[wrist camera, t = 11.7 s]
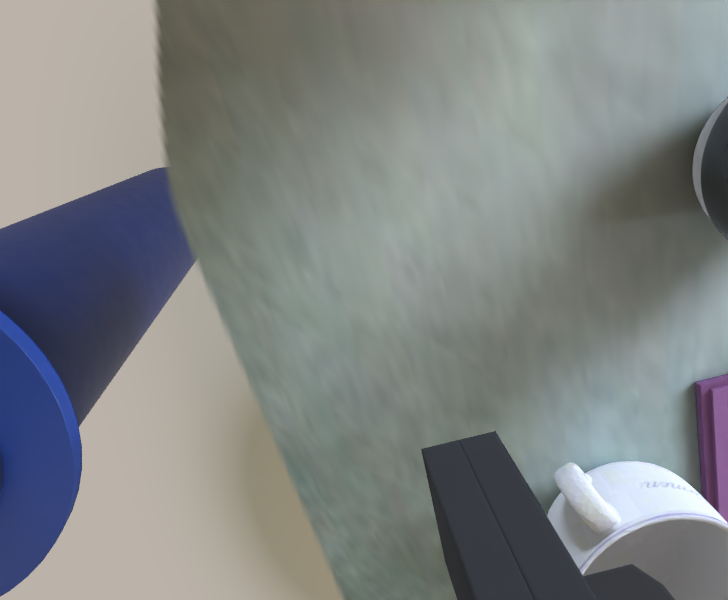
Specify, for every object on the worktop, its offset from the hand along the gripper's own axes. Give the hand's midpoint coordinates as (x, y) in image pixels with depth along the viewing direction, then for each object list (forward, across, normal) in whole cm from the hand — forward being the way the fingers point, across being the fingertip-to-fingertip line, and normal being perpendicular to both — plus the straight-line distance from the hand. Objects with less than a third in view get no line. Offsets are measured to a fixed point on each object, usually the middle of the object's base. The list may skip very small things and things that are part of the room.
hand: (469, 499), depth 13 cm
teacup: (+25, +12, -20) cm, 34 cm away
